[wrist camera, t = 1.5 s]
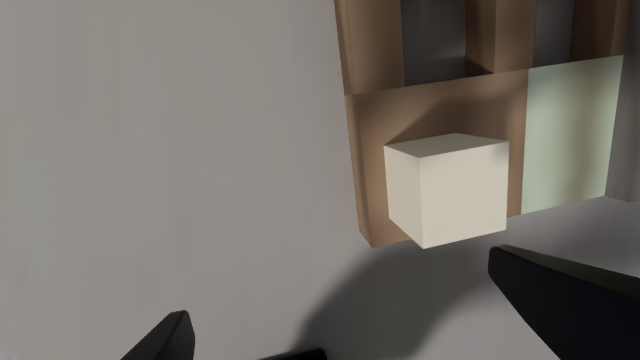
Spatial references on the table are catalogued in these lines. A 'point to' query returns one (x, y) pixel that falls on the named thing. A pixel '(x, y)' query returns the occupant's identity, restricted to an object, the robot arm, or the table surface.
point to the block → (447, 187)
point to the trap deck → (499, 103)
